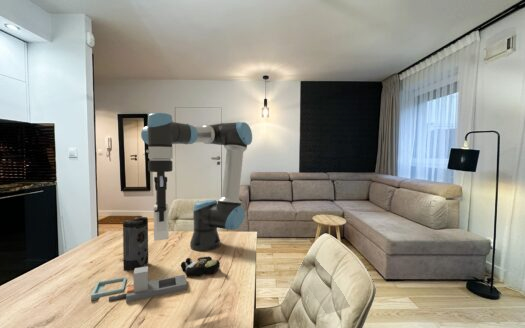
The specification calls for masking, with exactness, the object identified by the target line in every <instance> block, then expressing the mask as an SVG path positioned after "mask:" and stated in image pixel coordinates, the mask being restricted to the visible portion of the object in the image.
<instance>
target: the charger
mask: <svg viewBox="0 0 525 328" xmlns="http://www.w3.org/2000/svg"><path fill="white" fill-rule="evenodd" d="M155 210H157V205H156V204H154V205H153V240H154V241H155V242H157V241H162V240H164V241H165V240H169V238H170V237H169V235H170V234H169V232H170V231H169V229H170V228H169V205H168V203H166V231H158V232H157V212H155Z"/></svg>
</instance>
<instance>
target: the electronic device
mask: <svg viewBox="0 0 525 328" xmlns="http://www.w3.org/2000/svg"><path fill="white" fill-rule="evenodd" d="M122 248H123V249H122V255H123V258H122V259H123V261H122V262H123V271H124V272H129V271H134V269H135V268H140V267H146V266H148V264H149V218H148V217H146V216H136V217H132V218H131V219H127V220H124V221H123V222H122Z"/></svg>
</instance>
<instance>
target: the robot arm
mask: <svg viewBox="0 0 525 328" xmlns="http://www.w3.org/2000/svg"><path fill="white" fill-rule="evenodd" d="M140 134H141V135H140V136H141V140H142V141H143V142H144V143H145V144H146V145H148V146H147V147H148V149H146V150H145V153H147V155H148V156H147V158H148V159H149V160H148V162H147V167H148V168H147V170H148V172H150V173H156V176H154V177H153V178H154V179H153V182H154V189H155V192H156V194H155V195H156V196H155V198H156V202H155V205H157V210H155V212H157V232H158V231H166V204H167V202H166V201H167V198H166V197H167V195H166V194H167V187H168V186H167V185H168V177H167V176H166V175H165V173H167V172H170V173H171V172H173V161H172V159H174V158H173V156H174V155H173V153H174V152H173V145H193V144H194V143H203V144H206V145H219V146H220V145H221V146H223V147H224V149H225V150H226V152H225V153H226V155H225V162H224V170H223V179H222V188H221V197H220V198H219V199H218V200H217V199H208V200H201V201H197V202H196V203H194V204H193V233H192V236H191V239H190V242H189V243H190V245H189V246H190V249H192V250H194V251H198V252H204V251H206V252H207V251H212V250H216V249H218V248H219V247H220V246H221V239H220V236H219V233H218V229H223V230H224V229H225V230H227V231H229V230H231V231H235V230H237V229H239V228H240V227H241V226H242V225H243V223H244V220H245V217H246V216H245V215H246V211H245V208H244V207H243V206H242V201H241V200H240V188H241V178H242V167H243V160H244V159H243V158H244V153H245V151H247V150H248V146H249V145H251V144H252V142H253V132H252V128H251V127H250V125H249V124H248V123H247V122H243V121H236V122H224V123H223V122H222V123H221V122H220V123H217V124H215V123H214V124H209V125H208V124H206V125H203V126H194V125H191V124H189V123H181V122H175V121H174V120H173V116H172V114H169V113H165V112H152V113H150V114H148V117H147V125H146V126H144V127H143V128H142V130H141V132H140Z"/></svg>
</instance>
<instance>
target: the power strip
mask: <svg viewBox="0 0 525 328" xmlns="http://www.w3.org/2000/svg"><path fill="white" fill-rule="evenodd" d="M187 290H188V283H187V279H186V274H181V275H175V276H171V277H166V278H160V279H154V280H150V281H149V266H148V265H145V266H144V267H140V268H135V269H134V270H133V284H129V285H128V286H127V290H126V291H127V292H126V293H122V294H117V295H112V296H111V295H110V296H108V302H111V301H116V300H121V299H125V303H126V304H128V303H132V302H133V303H134V302H137V301H141V300H142V301H143V300H146V299H150V298H155V297H156V298H157V297H160V296H166V295H169V294H175V293H179V292H184V291H187Z"/></svg>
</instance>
